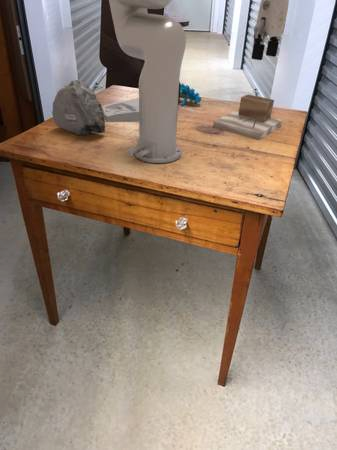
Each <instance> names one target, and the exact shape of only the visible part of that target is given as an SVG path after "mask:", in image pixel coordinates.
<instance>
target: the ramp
mask: <svg viewBox="0 0 337 450" xmlns="http://www.w3.org/2000/svg"><path fill="white" fill-rule="evenodd" d="M101 106H102V109H103V111H104V120H105V122H108V123H116V122H117V123H139V97H135V98H131V99H127V100H121V101H118V102H113V103H109V104H105V105H101Z"/></svg>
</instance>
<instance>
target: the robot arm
mask: <svg viewBox="0 0 337 450" xmlns="http://www.w3.org/2000/svg"><path fill="white" fill-rule="evenodd" d="M108 2H109V7H110V12H111V18H112V22H113V27H114V28H113V29H114V32H115V36H116V40H117V43H118V46H119V47H120V49H121V50H122V51H123V52H124V53H125V54H126V55H128V56H130V57H131V58H132V57H133V58H135V59H139V60H142V61H144V63H143V67H142V69H141V72H140V76H139V79H138V98H139V122H138V124H139V125H138V132H139V134H138V137H139V138H138V139H136V144H135V146H132V147H130V148H128V149H127V151H126V153H127V155H128V157H133V156H135V157H136V158H137V159H139V160H140V161H142V162H147V163H151V164H166V163H171V162H174V161H176V160H178V159H180V158H181V156H182V149H181V147H180V146H179V145H178V144H177V128H178V113H179V112H178V111H179V110H178V109H179V105H178V95H179V81H180V79H181V78H180V76H181V68H182V63H183V59H184V54H185V51H186V45H187V38H186V31H185V29H184V28H183V25H181V23H180V22H178V21H177V20H176V19H175V18H172V17H171V16H166V15H162V14H155V13H148V10H149V9H150V10H161V9H164V8H165V7H168V5H169V4H170V3H171V2H172V0H108ZM258 8H259V9H258V13H257V18H256V24H255V25H254V26H253V41H252V42H253V46H252V52H251V59H252V60H257V61H262V60H263V58H264V53H265V55H266V56H267V57H274V58H276V56H277V54H278V48H279V44H280V40H281V36H282V35H284V33H285V28H286V27H285V26H286V22H287V15H288V9H289V0H260V3H259V7H258ZM267 38H269V40H268V41H267V47H266V44H265V42H266V40H267ZM265 47H266V52H265Z"/></svg>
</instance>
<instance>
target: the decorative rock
mask: <svg viewBox="0 0 337 450" xmlns="http://www.w3.org/2000/svg"><path fill="white" fill-rule="evenodd" d="M102 106H103V105H102V104H101V102H100V101H99V99H98V98H97V95H96V93H95V92H94V91H93V90H92V89H91V88H90V86H89V85H88V84H87V83H85V82H83V81H81V80H80V79H79V80H77V79H75V80H71V81H70V83H69V84H65V85H64V86H63V87H62V88H60V89H58V91H57V92H56V95H55V97H54V100H53V101H52V113H51V114H52V120H53V123H54V124H55V125H56V127H59V128H61V129H64V130H65V131H68V132H70V133H74V134H75V135H77V136H78V135H80V136H81V135H82V136H83V135H84V136H85V135H89V134H91V133H95V134H103V133H105V132H106V120H105V119H104V111H103V109H102Z"/></svg>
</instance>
